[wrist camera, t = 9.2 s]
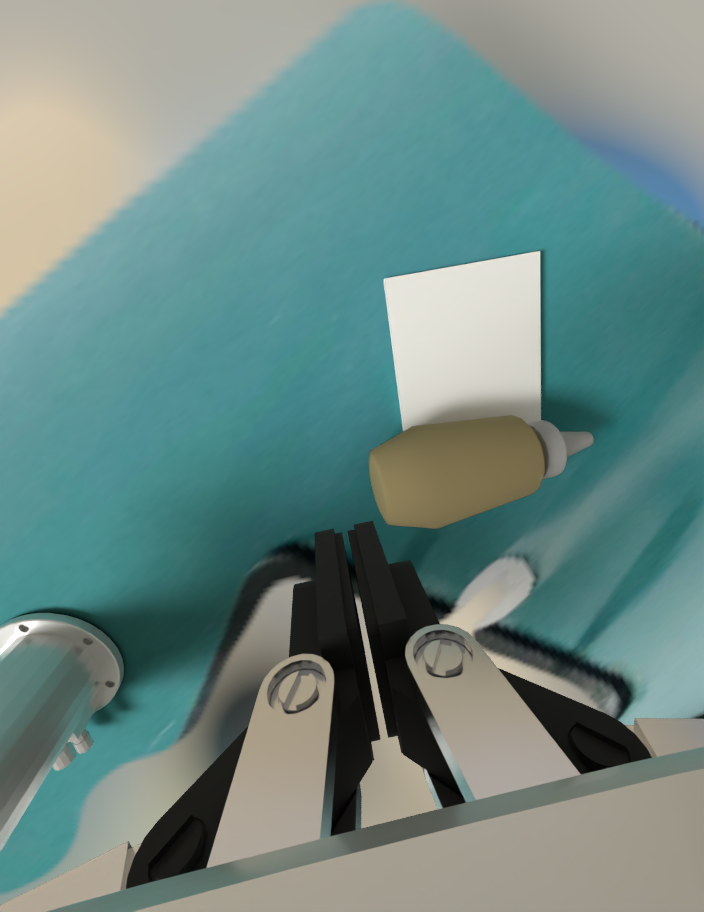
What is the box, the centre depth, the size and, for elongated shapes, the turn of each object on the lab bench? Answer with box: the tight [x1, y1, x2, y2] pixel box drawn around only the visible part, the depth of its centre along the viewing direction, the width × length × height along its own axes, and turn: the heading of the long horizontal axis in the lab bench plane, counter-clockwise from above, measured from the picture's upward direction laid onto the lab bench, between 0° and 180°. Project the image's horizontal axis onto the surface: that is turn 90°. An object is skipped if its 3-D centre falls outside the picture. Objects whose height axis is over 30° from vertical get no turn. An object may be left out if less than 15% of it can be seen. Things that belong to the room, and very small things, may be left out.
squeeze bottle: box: [369, 415, 594, 529], centre depth 30 cm, size 8×8×18 cm
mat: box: [384, 251, 541, 431], centre depth 31 cm, size 18×12×1 cm, turn 10°
